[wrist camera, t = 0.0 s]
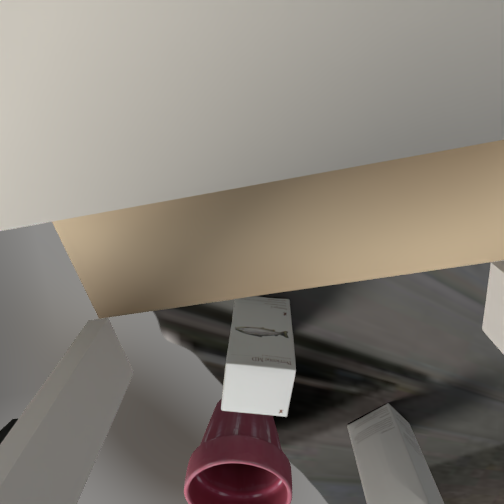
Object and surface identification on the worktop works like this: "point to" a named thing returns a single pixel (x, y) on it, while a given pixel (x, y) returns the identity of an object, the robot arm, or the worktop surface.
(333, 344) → the worktop surface
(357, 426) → the skincare box
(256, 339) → the supplement box
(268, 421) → the plant pot
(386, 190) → the stand
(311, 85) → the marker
